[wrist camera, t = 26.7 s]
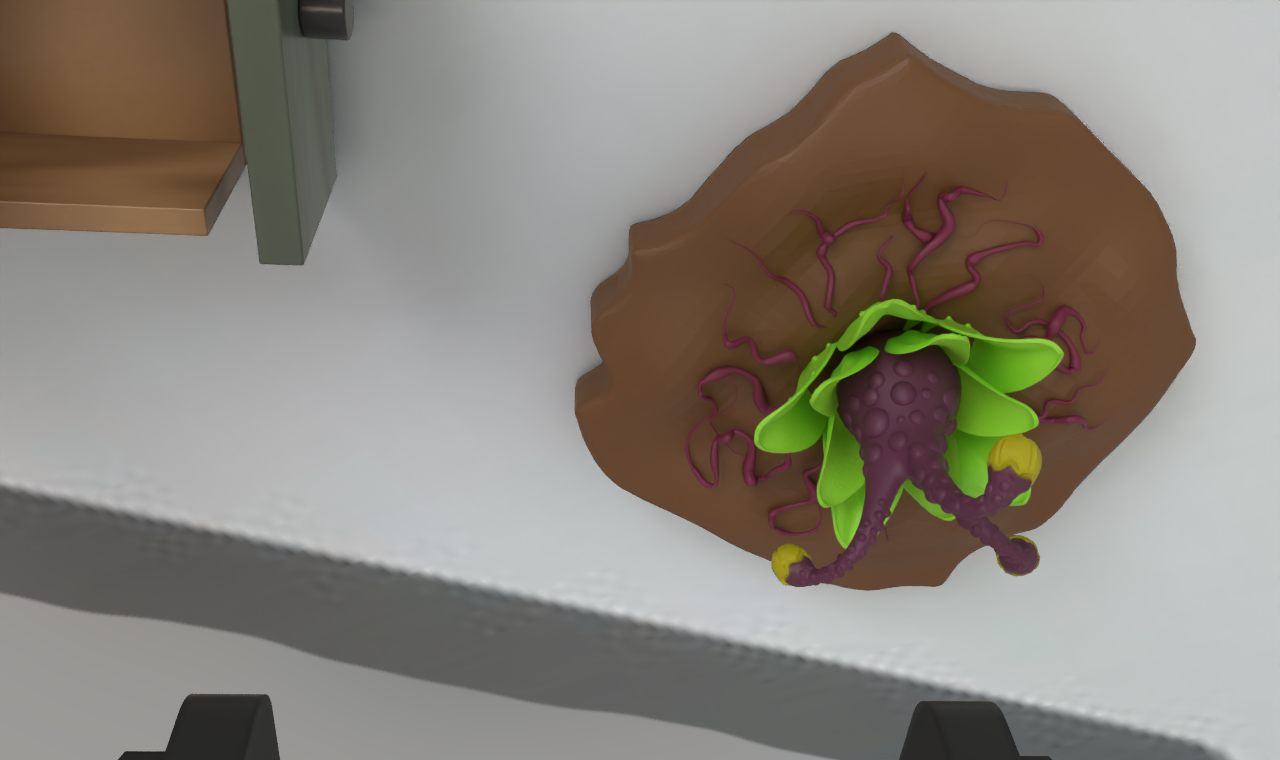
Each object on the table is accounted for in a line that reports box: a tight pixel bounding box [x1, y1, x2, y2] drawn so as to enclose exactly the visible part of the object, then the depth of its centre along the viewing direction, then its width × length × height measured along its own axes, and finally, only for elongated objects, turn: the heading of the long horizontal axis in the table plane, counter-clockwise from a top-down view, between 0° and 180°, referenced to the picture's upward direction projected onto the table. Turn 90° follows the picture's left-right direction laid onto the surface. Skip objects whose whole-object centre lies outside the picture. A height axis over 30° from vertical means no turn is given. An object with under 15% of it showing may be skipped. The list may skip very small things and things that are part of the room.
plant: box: [575, 33, 1196, 590], centre depth 38 cm, size 20×20×11 cm
